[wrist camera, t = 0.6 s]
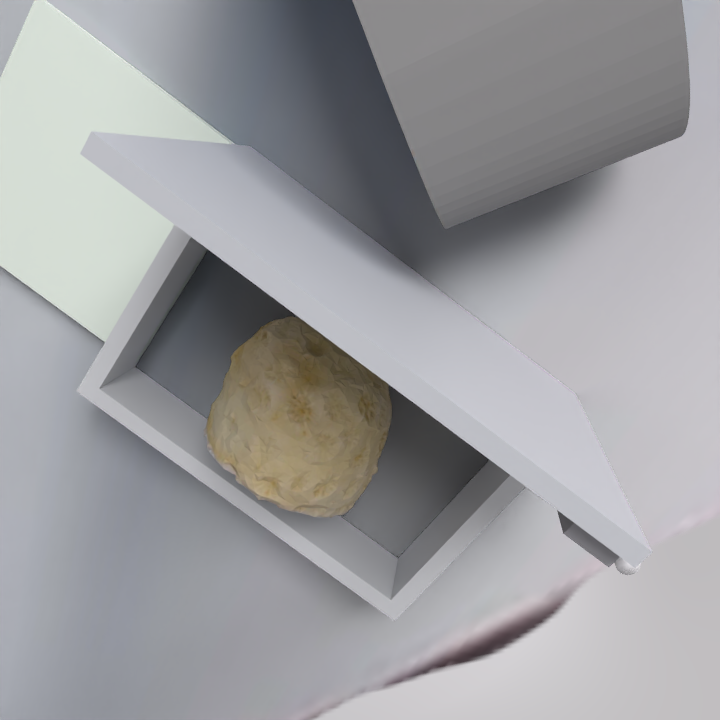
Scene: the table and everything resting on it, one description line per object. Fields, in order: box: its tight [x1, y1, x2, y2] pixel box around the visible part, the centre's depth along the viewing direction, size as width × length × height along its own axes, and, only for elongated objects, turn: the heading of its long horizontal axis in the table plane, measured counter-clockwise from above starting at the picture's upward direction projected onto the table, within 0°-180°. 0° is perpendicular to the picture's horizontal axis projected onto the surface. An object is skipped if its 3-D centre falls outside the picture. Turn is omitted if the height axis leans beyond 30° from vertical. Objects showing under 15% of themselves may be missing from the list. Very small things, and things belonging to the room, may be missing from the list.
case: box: [77, 131, 652, 621], centre depth 29 cm, size 23×16×15 cm
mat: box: [0, 0, 236, 363], centre depth 35 cm, size 14×14×1 cm
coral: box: [204, 316, 392, 518], centre depth 32 cm, size 10×10×10 cm
